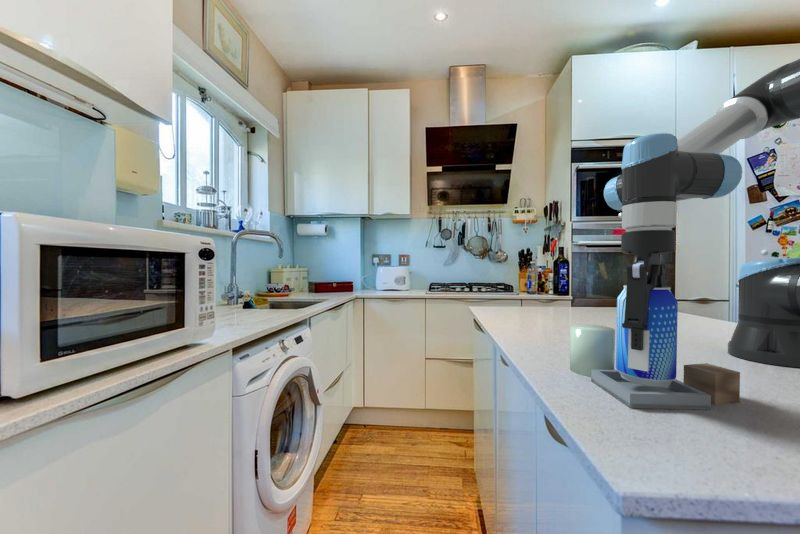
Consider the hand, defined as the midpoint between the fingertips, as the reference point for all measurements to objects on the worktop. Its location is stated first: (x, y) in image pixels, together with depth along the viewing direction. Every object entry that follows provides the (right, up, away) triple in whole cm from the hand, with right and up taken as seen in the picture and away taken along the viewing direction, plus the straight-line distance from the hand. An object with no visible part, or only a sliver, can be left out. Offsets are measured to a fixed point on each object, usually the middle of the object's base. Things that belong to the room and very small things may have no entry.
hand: (645, 363), depth 60 cm
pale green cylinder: (-2, -5, +12) cm, 13 cm away
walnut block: (+10, -5, -1) cm, 11 cm away
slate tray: (0, -5, 0) cm, 5 cm away
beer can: (0, -3, 0) cm, 3 cm away
